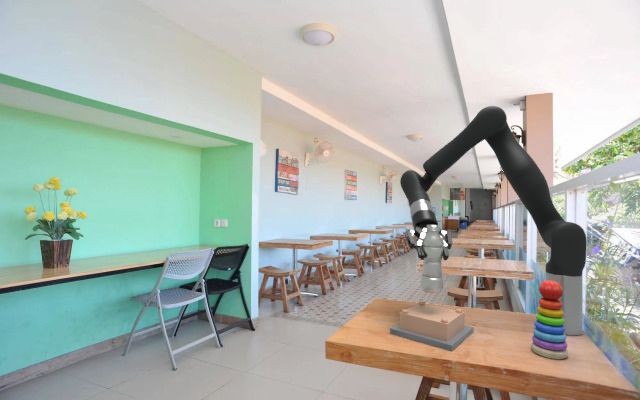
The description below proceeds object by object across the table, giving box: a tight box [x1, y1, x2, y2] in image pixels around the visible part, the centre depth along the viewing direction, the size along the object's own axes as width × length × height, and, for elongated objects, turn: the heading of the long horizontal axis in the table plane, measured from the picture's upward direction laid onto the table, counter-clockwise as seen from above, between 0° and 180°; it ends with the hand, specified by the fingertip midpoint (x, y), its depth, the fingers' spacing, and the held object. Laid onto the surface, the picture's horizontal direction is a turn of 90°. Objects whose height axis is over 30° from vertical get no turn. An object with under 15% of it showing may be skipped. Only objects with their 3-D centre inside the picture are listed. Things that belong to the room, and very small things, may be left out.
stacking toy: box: [530, 280, 569, 360], centre depth 87 cm, size 8×8×19 cm
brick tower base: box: [389, 300, 475, 352], centre depth 100 cm, size 18×18×7 cm
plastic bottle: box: [420, 224, 445, 294], centre depth 100 cm, size 6×7×20 cm
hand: (434, 258), depth 99 cm, fingers closed on plastic bottle, 6 cm apart
